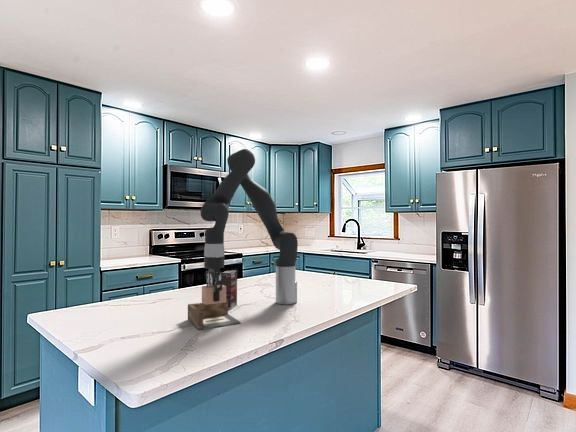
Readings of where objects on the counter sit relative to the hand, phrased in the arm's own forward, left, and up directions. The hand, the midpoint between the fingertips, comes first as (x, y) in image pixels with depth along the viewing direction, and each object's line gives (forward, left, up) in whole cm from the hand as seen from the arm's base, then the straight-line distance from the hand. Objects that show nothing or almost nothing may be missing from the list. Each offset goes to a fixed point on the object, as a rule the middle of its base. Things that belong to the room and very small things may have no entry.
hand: (214, 299), depth 137 cm
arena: (0, -1, -9) cm, 9 cm away
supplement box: (-13, -18, -9) cm, 24 cm away
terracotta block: (0, 0, -1) cm, 1 cm away
